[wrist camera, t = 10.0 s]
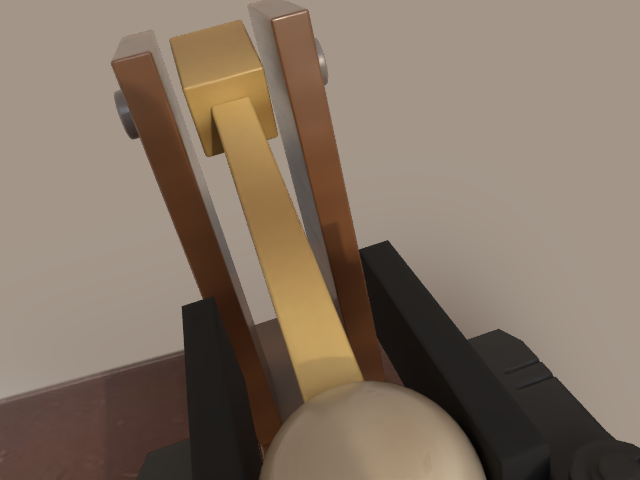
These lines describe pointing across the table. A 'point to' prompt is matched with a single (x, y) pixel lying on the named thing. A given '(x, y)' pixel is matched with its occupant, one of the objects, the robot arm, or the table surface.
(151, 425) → the table surface
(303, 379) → the switch lever
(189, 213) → the switch bracket
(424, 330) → the robot arm
